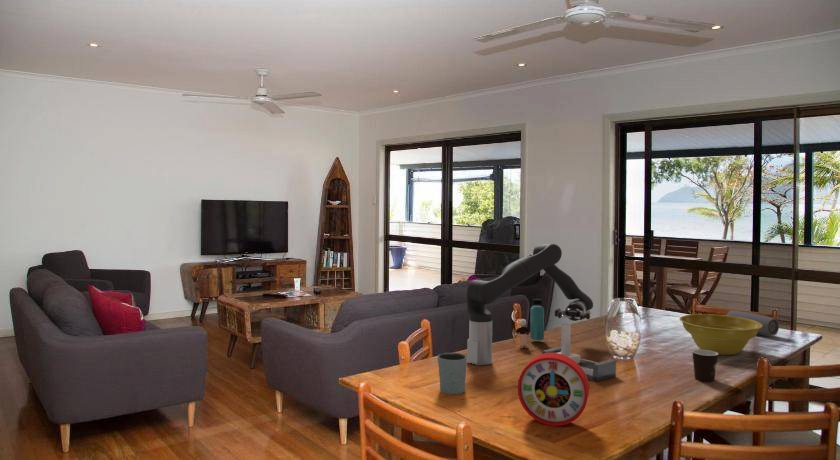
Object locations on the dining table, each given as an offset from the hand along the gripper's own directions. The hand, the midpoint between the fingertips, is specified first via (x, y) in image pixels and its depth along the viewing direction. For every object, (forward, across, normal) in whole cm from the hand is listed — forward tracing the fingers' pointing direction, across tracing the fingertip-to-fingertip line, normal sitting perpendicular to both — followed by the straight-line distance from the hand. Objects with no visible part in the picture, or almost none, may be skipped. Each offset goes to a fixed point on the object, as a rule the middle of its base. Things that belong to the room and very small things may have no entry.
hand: (570, 316), depth 239 cm
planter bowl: (-42, +58, +17) cm, 73 cm away
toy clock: (+70, +6, +20) cm, 73 cm away
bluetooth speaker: (-88, +75, +16) cm, 117 cm away
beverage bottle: (-27, -19, +18) cm, 37 cm away
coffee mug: (+5, +51, +18) cm, 54 cm away
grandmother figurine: (-14, -22, +18) cm, 32 cm away
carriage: (+11, 0, +16) cm, 19 cm away
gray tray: (+14, +6, +18) cm, 23 cm away
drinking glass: (+55, -31, +20) cm, 66 cm away
